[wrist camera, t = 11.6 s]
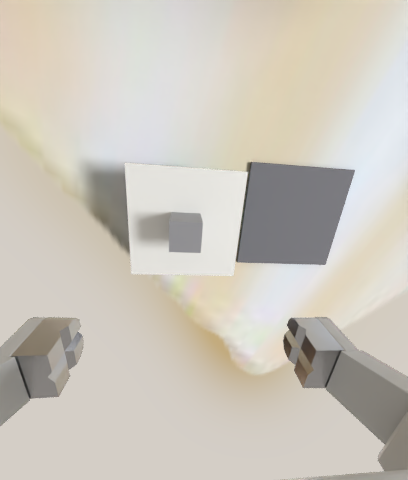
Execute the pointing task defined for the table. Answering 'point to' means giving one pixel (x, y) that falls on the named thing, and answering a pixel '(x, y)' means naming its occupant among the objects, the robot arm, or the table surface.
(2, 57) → the table surface
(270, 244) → the mat
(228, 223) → the cover sheet
